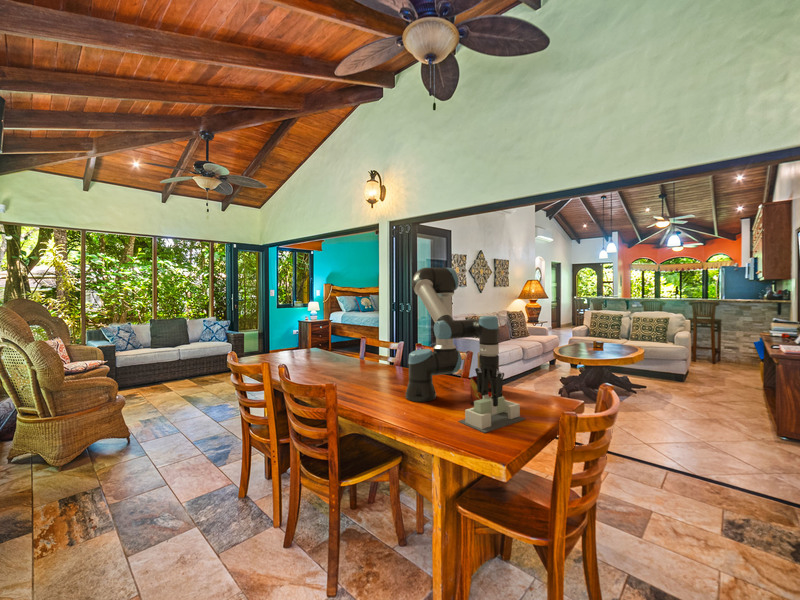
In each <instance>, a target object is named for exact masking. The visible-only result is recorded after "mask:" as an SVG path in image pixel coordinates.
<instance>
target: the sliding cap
mask: <svg viewBox="0 0 800 600" xmlns="http://www.w3.org/2000/svg"><path fill="white" fill-rule="evenodd" d="M520 406H521V404H520V403H516V402H514V401H512V400H511V401H510V400H507V399H505V413H508V418H509V419H513V418H516V417H519V416H520V417H521V414H520V409H521V408H520Z"/></svg>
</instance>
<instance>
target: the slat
mask: <svg viewBox="0 0 800 600" xmlns="http://www.w3.org/2000/svg"><path fill="white" fill-rule="evenodd" d="M505 400H506V398H505V396H503V395H502V397H499V398H498V406H497V414H498V413H502V412H505ZM473 408H474V412H476V413H478V414H484V413H488V412H489V413H491V397H488V398H484V399H480V400H476V401H474V406H473ZM493 415H495V414H493Z"/></svg>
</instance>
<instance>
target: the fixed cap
mask: <svg viewBox="0 0 800 600" xmlns="http://www.w3.org/2000/svg"><path fill="white" fill-rule="evenodd" d="M464 412H465V413H464V419H465V422H466V423H468V424H471V425H473V426H475V427H478V428H480V429H484V428H487V427H490V426H491V413H489V412H488V413H484V414H478V413H476V412H474V407H471V408H467V409H465V410H464Z"/></svg>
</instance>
